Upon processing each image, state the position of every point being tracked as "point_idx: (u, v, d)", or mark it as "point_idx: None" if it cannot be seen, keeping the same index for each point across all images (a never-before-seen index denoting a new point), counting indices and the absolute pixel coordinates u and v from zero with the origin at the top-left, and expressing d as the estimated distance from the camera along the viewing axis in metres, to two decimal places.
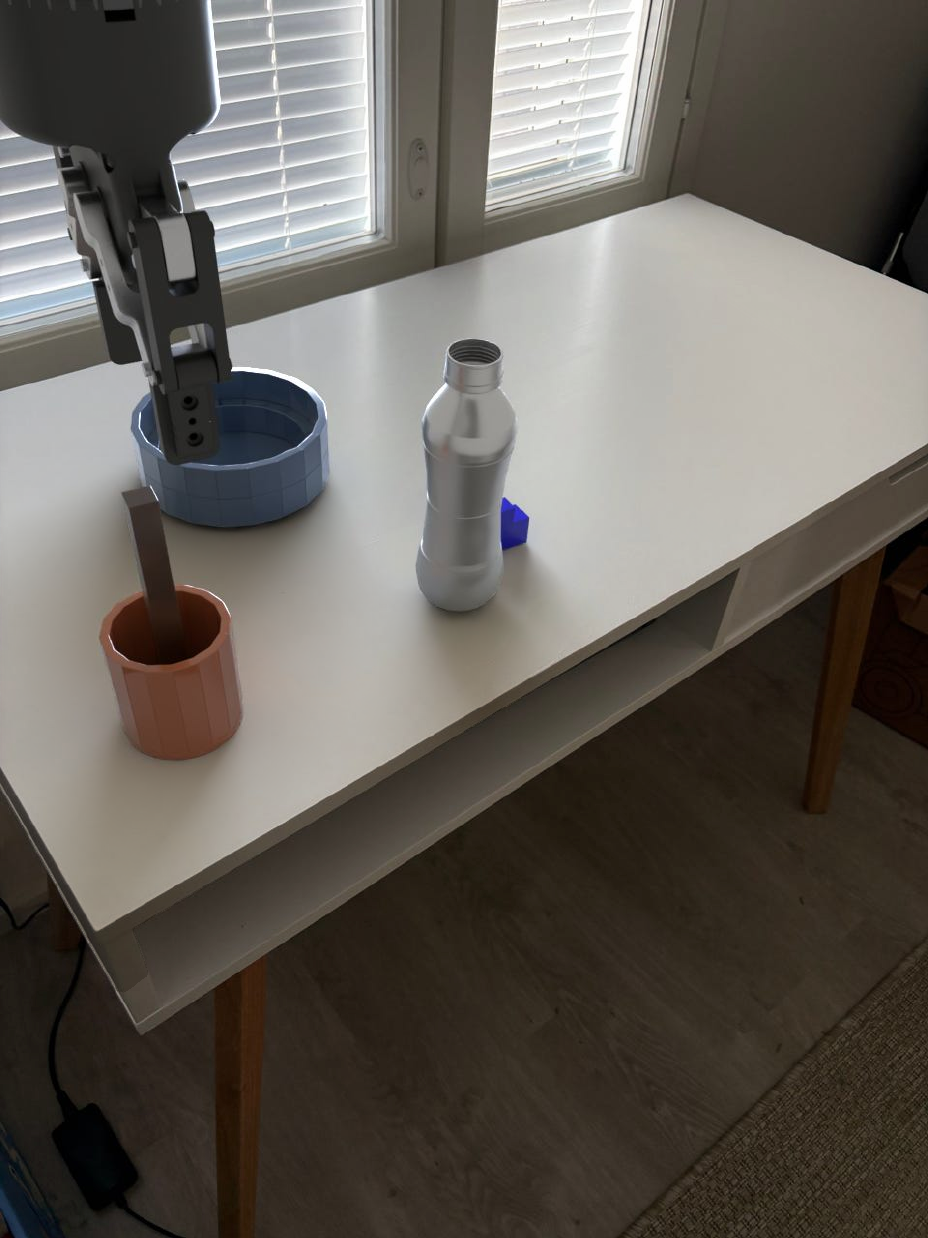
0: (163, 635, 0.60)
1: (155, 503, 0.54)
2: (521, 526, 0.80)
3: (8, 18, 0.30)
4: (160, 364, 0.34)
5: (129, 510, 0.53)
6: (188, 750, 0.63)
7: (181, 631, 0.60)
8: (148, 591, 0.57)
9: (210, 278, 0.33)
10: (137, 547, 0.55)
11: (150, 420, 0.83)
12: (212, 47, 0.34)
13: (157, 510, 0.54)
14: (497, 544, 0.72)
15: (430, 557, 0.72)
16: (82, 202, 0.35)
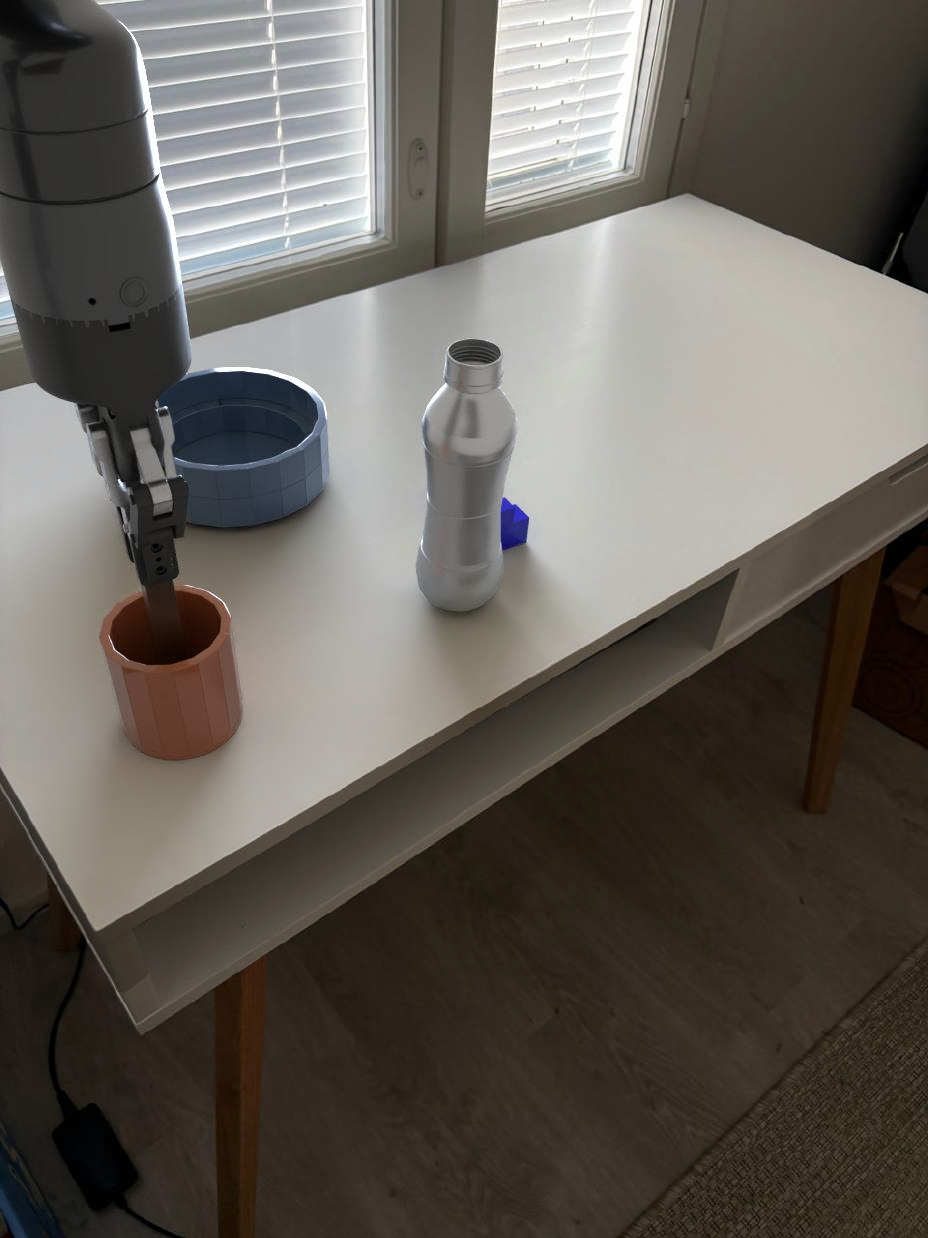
0: (163, 635, 0.60)
1: None
2: (521, 526, 0.80)
3: (42, 329, 0.44)
4: (137, 542, 0.51)
5: None
6: (188, 750, 0.63)
7: (181, 631, 0.60)
8: (148, 591, 0.57)
9: (181, 511, 0.49)
10: None
11: None
12: (185, 326, 0.47)
13: None
14: (497, 544, 0.72)
15: (430, 557, 0.72)
16: (94, 438, 0.49)
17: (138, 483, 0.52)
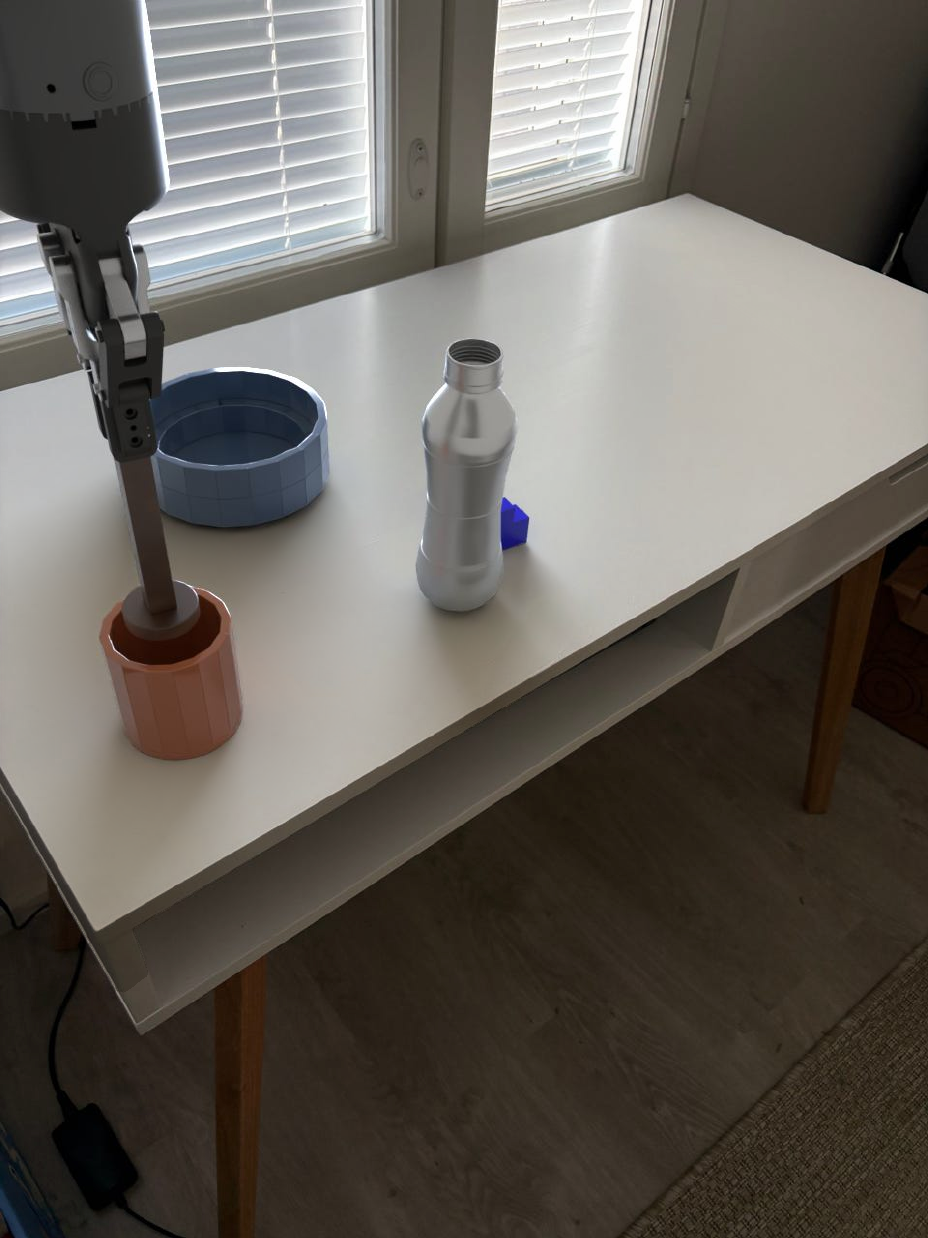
0: (140, 524, 0.54)
1: None
2: (521, 526, 0.80)
3: None
4: (108, 397, 0.45)
5: None
6: (188, 750, 0.63)
7: (160, 521, 0.55)
8: (123, 471, 0.52)
9: (156, 357, 0.44)
10: None
11: None
12: (161, 141, 0.42)
13: None
14: (497, 544, 0.72)
15: (430, 557, 0.72)
16: (58, 272, 0.43)
17: None
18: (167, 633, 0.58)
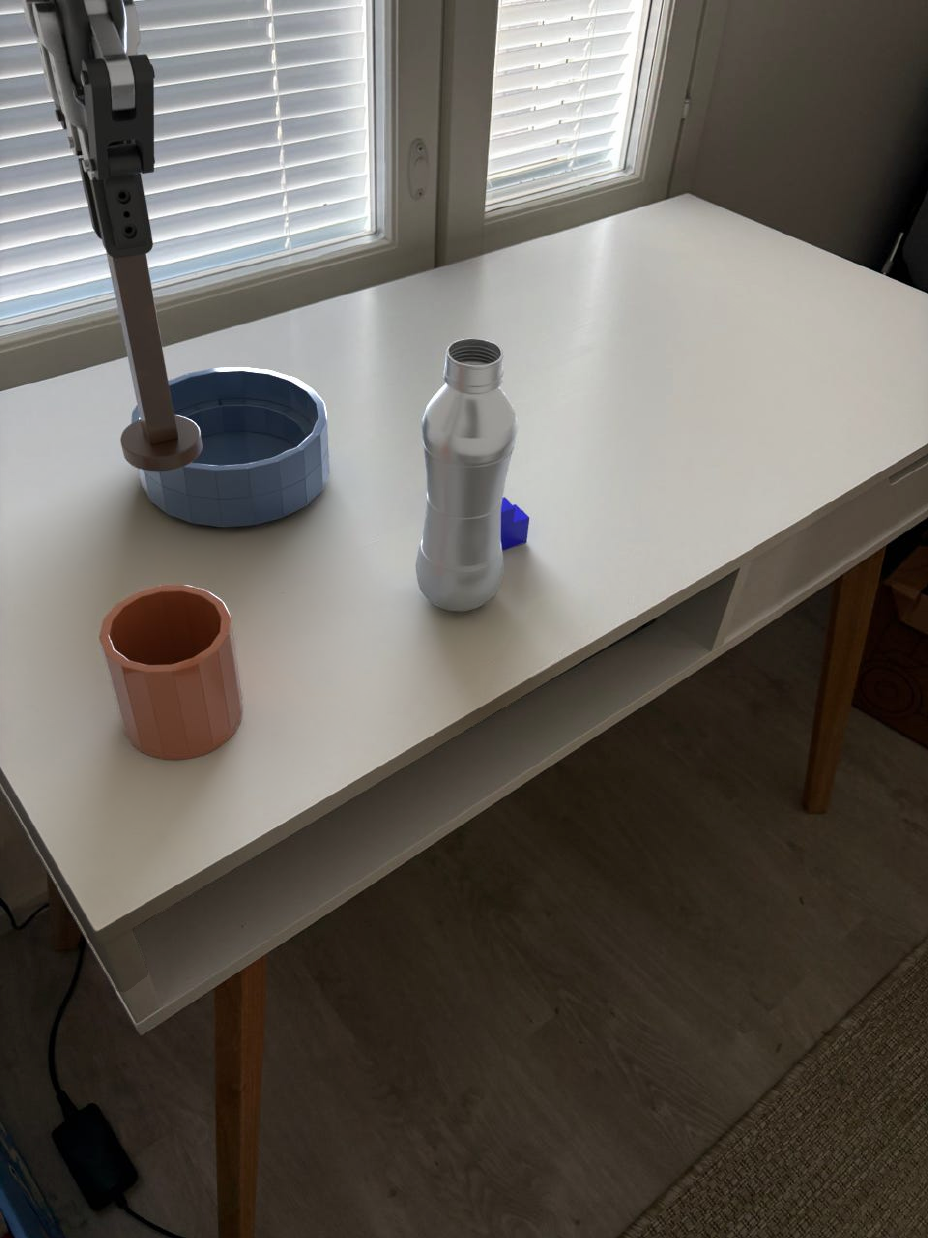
0: (137, 336, 0.52)
1: (122, 142, 0.46)
2: (521, 526, 0.80)
3: None
4: (97, 163, 0.43)
5: None
6: (188, 750, 0.63)
7: (158, 335, 0.52)
8: (117, 271, 0.49)
9: (146, 111, 0.41)
10: None
11: None
12: None
13: None
14: (497, 544, 0.72)
15: (430, 557, 0.72)
16: (41, 18, 0.40)
17: None
18: (168, 462, 0.56)
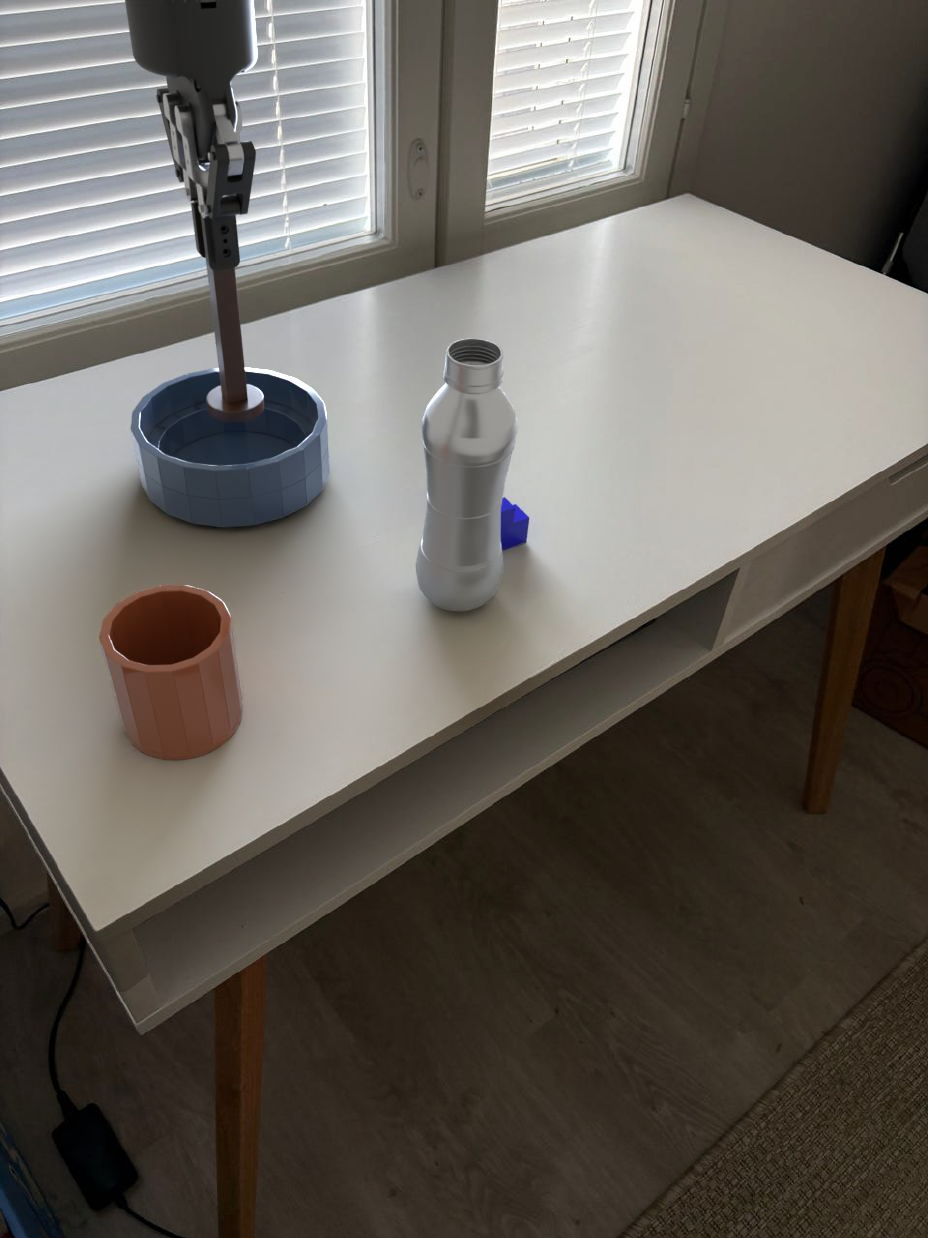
0: (225, 324, 0.74)
1: None
2: (521, 526, 0.80)
3: (150, 6, 0.58)
4: (212, 208, 0.65)
5: None
6: (188, 750, 0.63)
7: (239, 324, 0.74)
8: (215, 279, 0.71)
9: (248, 175, 0.63)
10: None
11: (150, 420, 0.83)
12: (254, 23, 0.61)
13: None
14: (497, 544, 0.72)
15: (430, 557, 0.72)
16: (181, 116, 0.63)
17: None
18: (241, 416, 0.78)
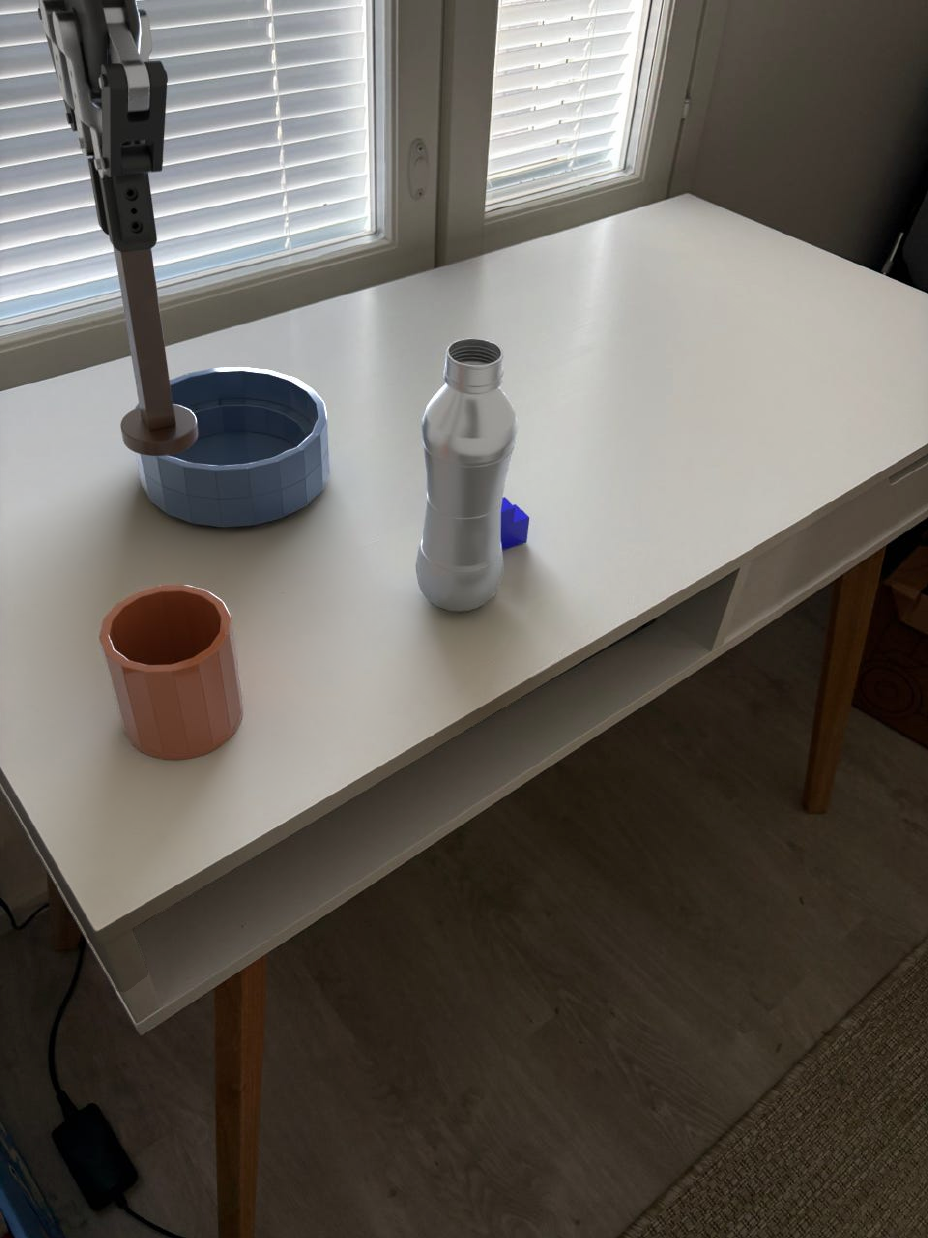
0: (141, 326, 0.55)
1: (132, 142, 0.49)
2: (521, 526, 0.80)
3: None
4: (110, 160, 0.46)
5: None
6: (188, 750, 0.63)
7: (160, 325, 0.55)
8: (124, 263, 0.52)
9: (159, 113, 0.44)
10: None
11: None
12: None
13: None
14: (497, 544, 0.72)
15: (430, 557, 0.72)
16: (62, 26, 0.44)
17: None
18: (166, 447, 0.59)
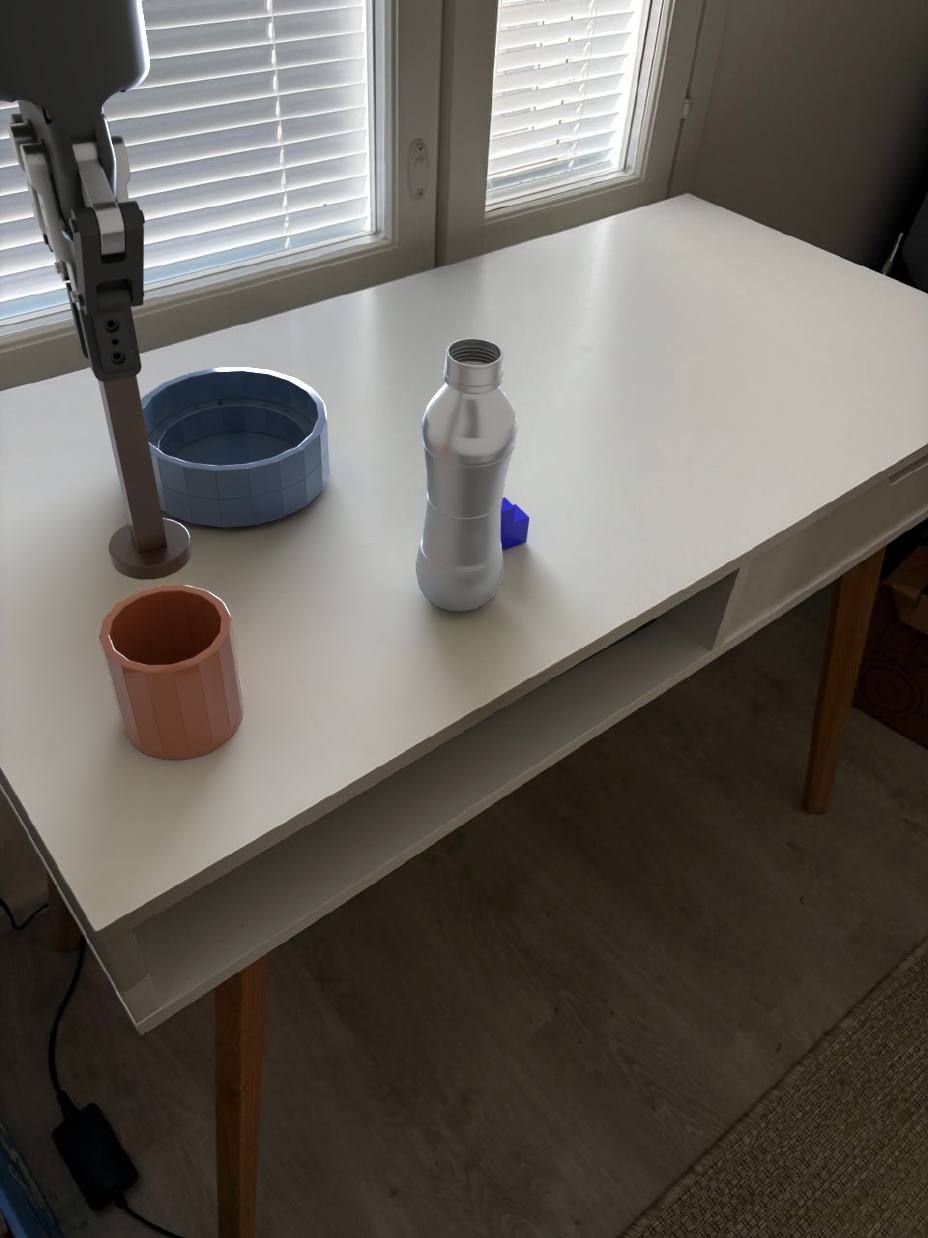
0: (127, 451, 0.51)
1: None
2: (521, 526, 0.80)
3: None
4: (85, 300, 0.42)
5: None
6: (188, 750, 0.63)
7: (148, 448, 0.52)
8: (107, 390, 0.49)
9: (136, 253, 0.40)
10: None
11: (150, 420, 0.83)
12: (139, 15, 0.39)
13: None
14: (497, 544, 0.72)
15: (430, 557, 0.72)
16: (29, 161, 0.40)
17: None
18: (156, 571, 0.55)
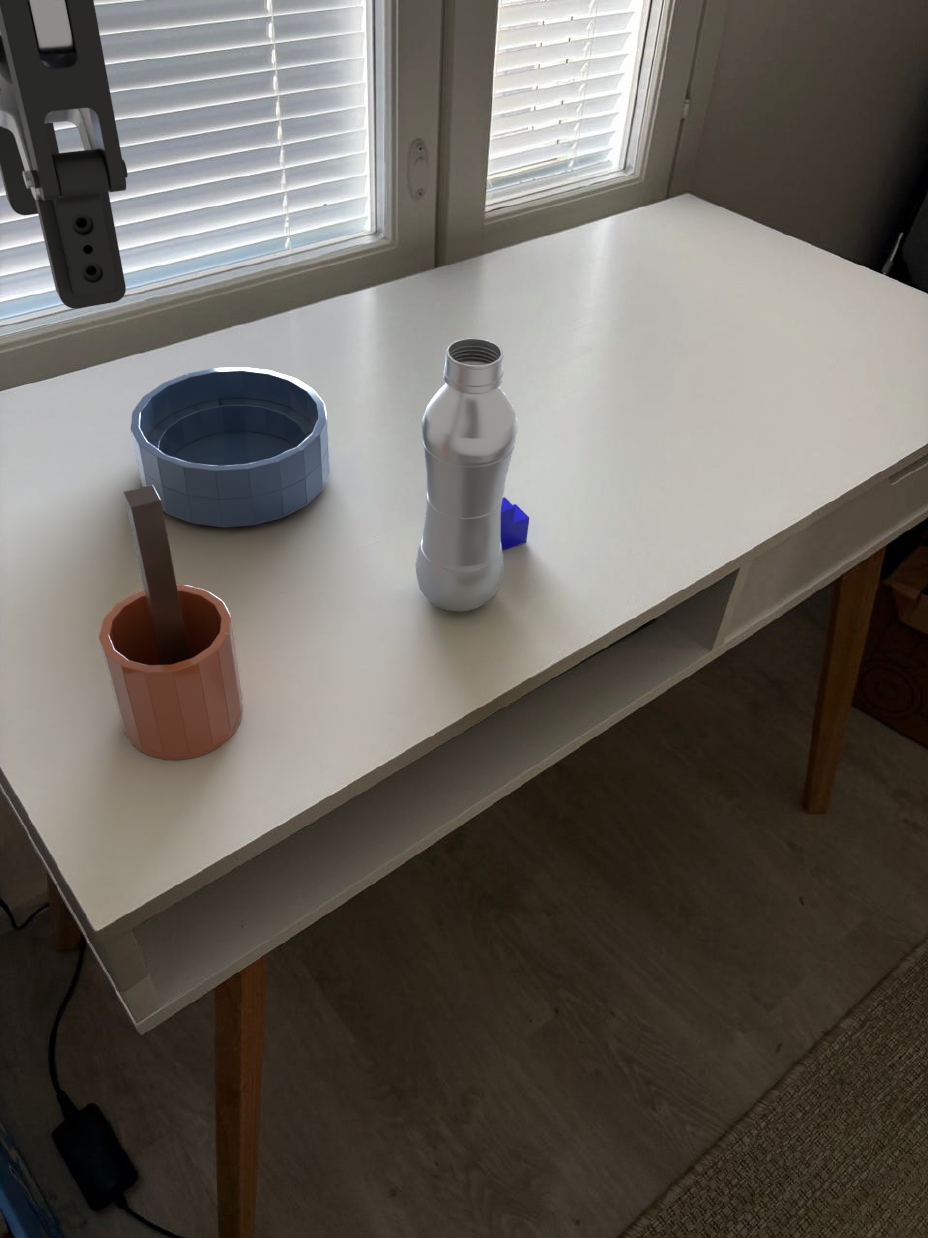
0: (166, 634, 0.60)
1: (157, 502, 0.54)
2: (521, 526, 0.80)
3: None
4: (35, 158, 0.29)
5: (131, 509, 0.53)
6: (188, 750, 0.63)
7: (183, 630, 0.60)
8: (150, 591, 0.57)
9: (91, 48, 0.28)
10: (139, 546, 0.55)
11: (150, 420, 0.83)
12: None
13: (159, 509, 0.54)
14: (497, 544, 0.72)
15: (430, 557, 0.72)
16: None
17: None
18: None
